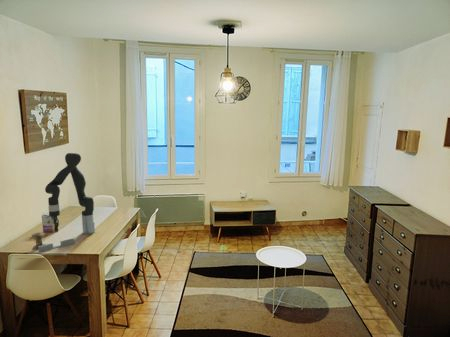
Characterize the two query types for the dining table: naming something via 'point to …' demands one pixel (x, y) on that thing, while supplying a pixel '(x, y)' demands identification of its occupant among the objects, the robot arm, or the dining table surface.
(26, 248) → the dining table surface
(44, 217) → the candy bar box
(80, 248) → the dining table surface
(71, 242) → the notch board
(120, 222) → the dining table surface
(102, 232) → the dining table surface
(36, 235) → the bobbin
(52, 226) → the tab
